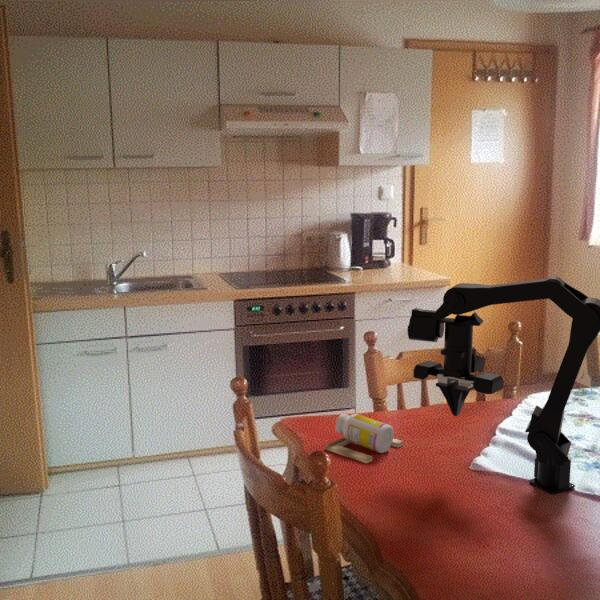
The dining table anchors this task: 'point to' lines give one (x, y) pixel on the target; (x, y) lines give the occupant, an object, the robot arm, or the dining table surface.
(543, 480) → the robot arm
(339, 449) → the frame
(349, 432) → the supplement bottle
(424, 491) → the dining table surface
